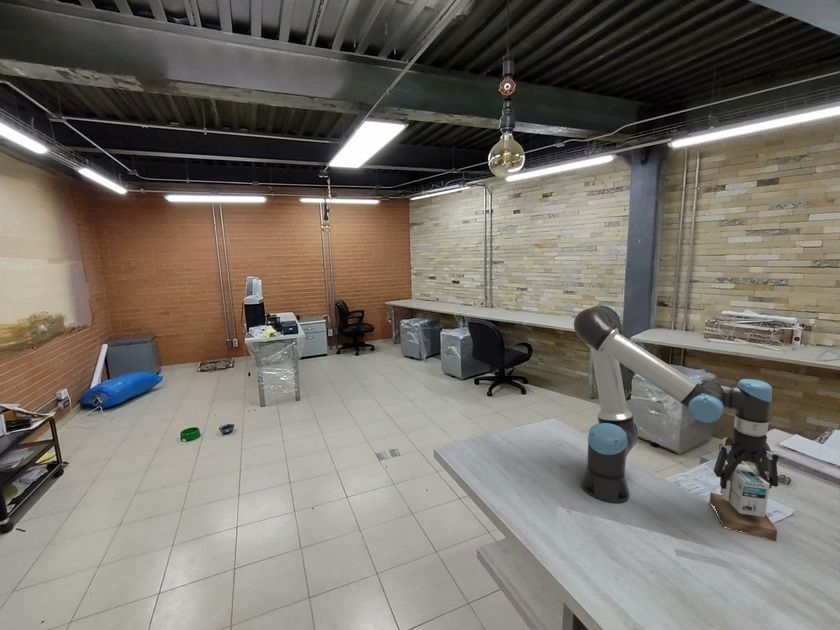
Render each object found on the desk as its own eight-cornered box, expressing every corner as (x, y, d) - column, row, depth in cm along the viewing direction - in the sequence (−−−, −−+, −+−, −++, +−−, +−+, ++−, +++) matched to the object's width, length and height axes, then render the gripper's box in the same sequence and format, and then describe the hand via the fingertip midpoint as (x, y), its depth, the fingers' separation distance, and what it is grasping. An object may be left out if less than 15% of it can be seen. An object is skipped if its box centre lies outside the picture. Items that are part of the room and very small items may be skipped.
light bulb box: (765, 517, 108) (771, 484, 107) (739, 514, 110) (744, 481, 108) (742, 495, 119) (747, 464, 117) (718, 492, 120) (723, 461, 118)
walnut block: (723, 534, 111) (725, 519, 110) (709, 506, 124) (710, 492, 123) (775, 546, 106) (777, 530, 106) (754, 515, 119) (756, 501, 118)
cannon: (710, 443, 165) (712, 419, 163) (743, 448, 160) (746, 423, 159) (734, 473, 142) (737, 445, 140) (773, 479, 137) (777, 451, 136)
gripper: (712, 431, 111) (705, 500, 115) (802, 443, 103) (791, 517, 107) (704, 421, 118) (698, 487, 121) (788, 431, 110) (779, 501, 113)
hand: (742, 501), depth 114 cm, fingers open, 7 cm apart
